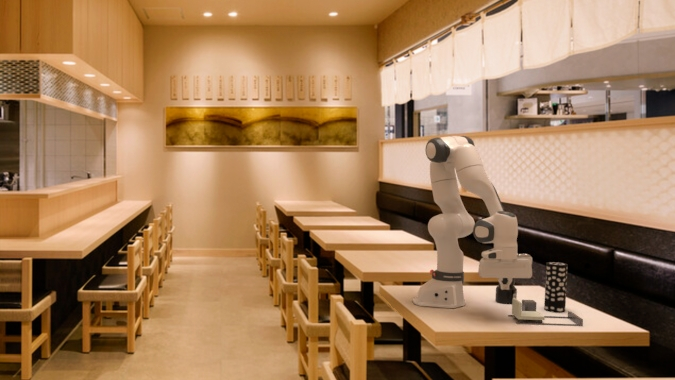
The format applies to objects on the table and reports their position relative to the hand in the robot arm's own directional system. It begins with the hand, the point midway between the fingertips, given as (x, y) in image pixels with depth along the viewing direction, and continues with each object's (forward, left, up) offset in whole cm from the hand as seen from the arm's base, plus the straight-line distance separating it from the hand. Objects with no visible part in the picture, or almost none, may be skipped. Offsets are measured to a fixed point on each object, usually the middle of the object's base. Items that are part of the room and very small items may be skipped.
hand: (504, 289), depth 249 cm
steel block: (+14, +13, -12) cm, 22 cm away
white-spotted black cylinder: (+27, +20, -13) cm, 35 cm away
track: (+16, +1, -12) cm, 20 cm away
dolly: (+10, +1, -12) cm, 16 cm away
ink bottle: (+10, +33, -13) cm, 36 cm away
